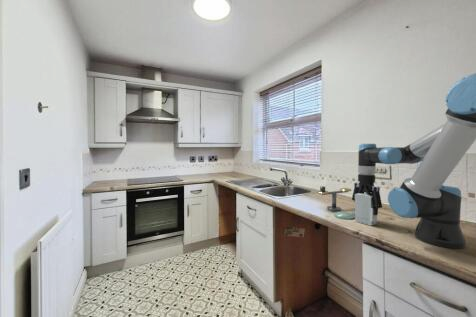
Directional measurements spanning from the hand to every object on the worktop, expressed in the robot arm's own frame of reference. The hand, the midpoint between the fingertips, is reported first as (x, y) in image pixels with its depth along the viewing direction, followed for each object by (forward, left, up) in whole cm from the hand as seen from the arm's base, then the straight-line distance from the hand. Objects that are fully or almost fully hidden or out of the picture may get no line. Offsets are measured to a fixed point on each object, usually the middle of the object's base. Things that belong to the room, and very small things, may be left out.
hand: (365, 217), depth 108 cm
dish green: (+11, +4, -3) cm, 12 cm away
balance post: (+25, 0, -3) cm, 25 cm away
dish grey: (+11, -8, -3) cm, 14 cm away
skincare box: (0, 0, -3) cm, 3 cm away
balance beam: (+25, 0, +8) cm, 26 cm away
